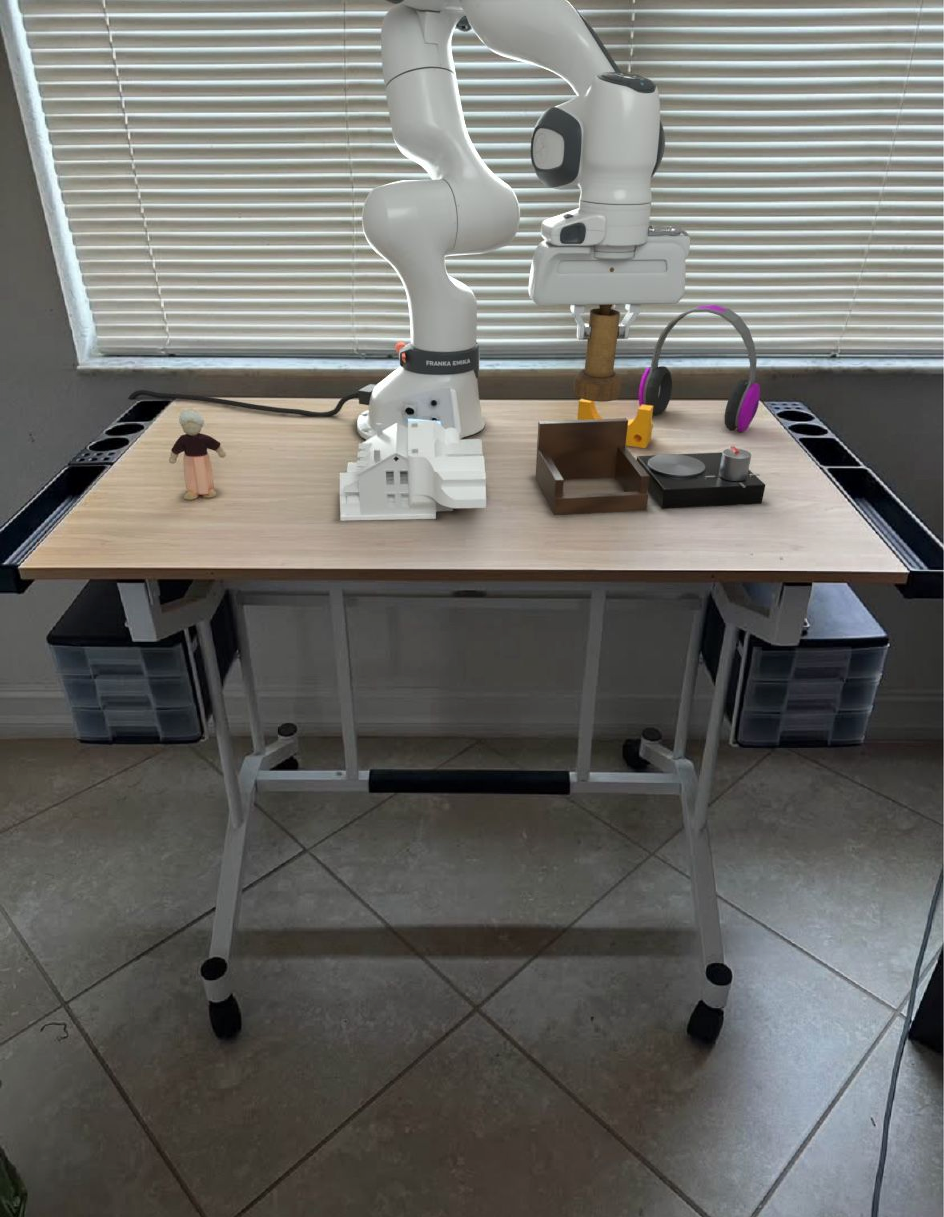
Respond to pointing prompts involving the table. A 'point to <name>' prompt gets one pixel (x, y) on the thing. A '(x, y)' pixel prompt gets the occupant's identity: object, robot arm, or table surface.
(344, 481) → the house model
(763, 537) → the table surface
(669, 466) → the burner
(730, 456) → the hob knob
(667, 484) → the hob
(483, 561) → the table surface
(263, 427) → the table surface
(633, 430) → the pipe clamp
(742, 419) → the headphones
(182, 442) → the grandmother figurine
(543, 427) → the spice rack
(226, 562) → the table surface
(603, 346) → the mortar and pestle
